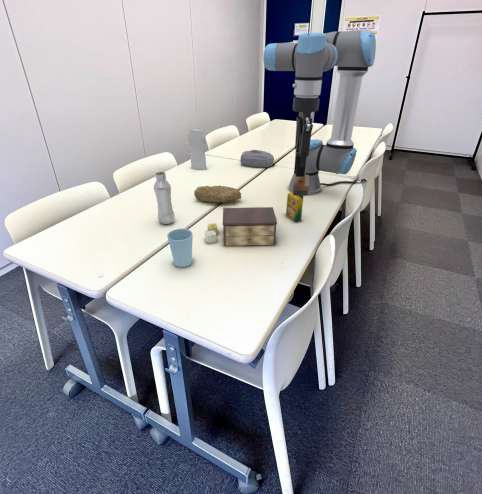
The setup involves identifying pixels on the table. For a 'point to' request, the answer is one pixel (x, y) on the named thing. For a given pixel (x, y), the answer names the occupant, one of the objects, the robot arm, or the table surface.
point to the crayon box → (294, 206)
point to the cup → (181, 246)
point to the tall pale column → (197, 149)
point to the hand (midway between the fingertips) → (299, 174)
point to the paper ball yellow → (212, 227)
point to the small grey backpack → (257, 158)
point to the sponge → (217, 194)
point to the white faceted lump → (210, 236)
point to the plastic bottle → (163, 199)
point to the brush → (301, 185)
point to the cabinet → (249, 226)
